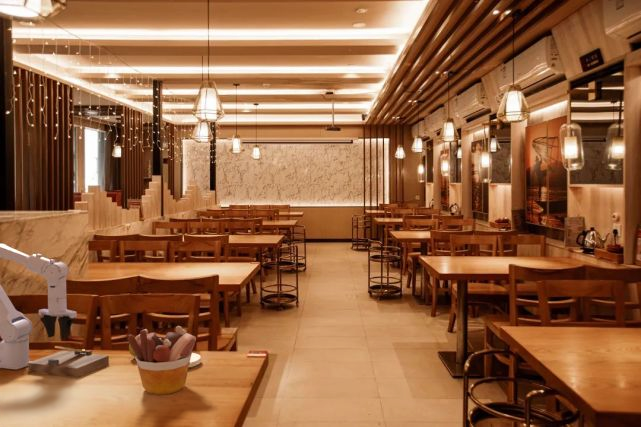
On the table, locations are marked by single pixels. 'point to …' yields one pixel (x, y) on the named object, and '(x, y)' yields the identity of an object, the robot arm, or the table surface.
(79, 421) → the table surface
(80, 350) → the latch bar
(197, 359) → the plastic lid
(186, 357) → the bucket of meat
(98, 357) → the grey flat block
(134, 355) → the lemon
